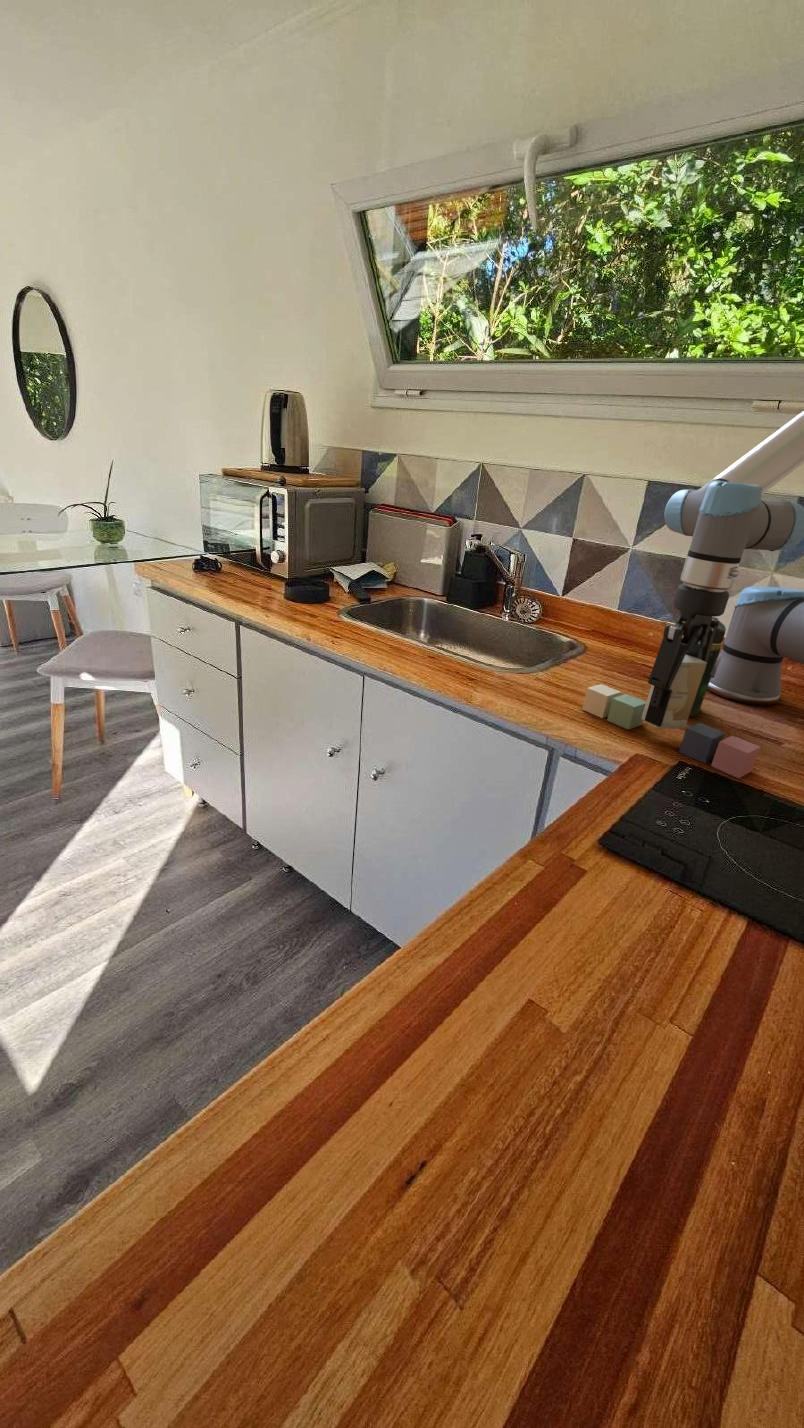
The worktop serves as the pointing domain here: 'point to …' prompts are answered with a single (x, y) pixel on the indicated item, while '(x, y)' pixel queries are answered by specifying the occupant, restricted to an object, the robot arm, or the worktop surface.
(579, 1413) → the worktop surface
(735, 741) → the block rose
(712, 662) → the coffee jar
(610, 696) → the block cream
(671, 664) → the robot arm
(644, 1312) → the worktop surface
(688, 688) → the cosmetic box
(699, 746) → the block slate
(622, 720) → the block sage
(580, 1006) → the worktop surface
